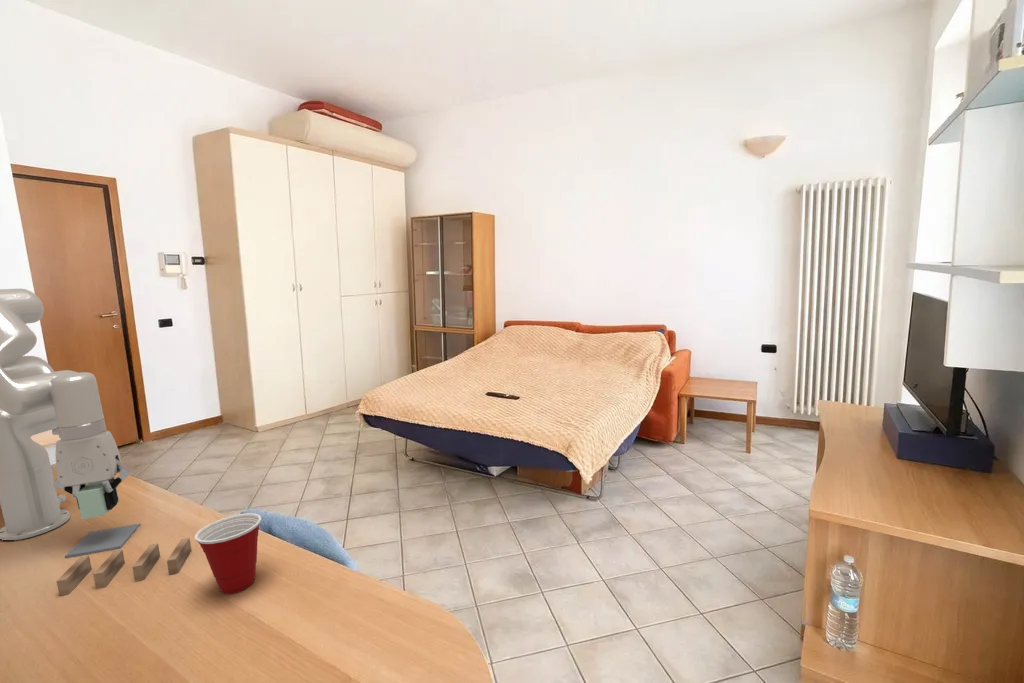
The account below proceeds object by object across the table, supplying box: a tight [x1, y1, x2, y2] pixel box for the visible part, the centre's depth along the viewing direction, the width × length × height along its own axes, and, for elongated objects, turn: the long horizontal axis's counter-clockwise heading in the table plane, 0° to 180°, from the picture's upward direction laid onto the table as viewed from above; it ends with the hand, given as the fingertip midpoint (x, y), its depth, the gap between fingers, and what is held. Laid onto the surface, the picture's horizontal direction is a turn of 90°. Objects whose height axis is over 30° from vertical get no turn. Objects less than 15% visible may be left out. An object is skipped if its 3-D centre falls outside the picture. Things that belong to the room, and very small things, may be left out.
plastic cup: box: [194, 512, 262, 595], centre depth 91 cm, size 11×11×12 cm
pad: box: [64, 523, 141, 559], centre depth 110 cm, size 10×10×1 cm
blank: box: [76, 482, 120, 520], centre depth 109 cm, size 7×4×6 cm, turn 17°
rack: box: [56, 537, 193, 597], centre depth 98 cm, size 8×19×3 cm, turn 106°
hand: (99, 508), depth 109 cm, fingers closed on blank, 4 cm apart
